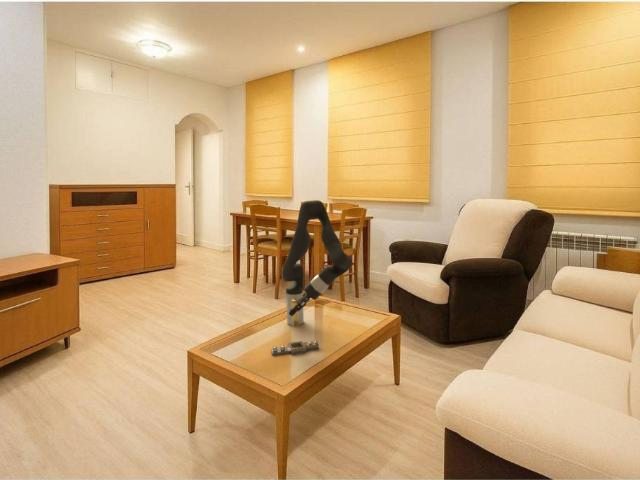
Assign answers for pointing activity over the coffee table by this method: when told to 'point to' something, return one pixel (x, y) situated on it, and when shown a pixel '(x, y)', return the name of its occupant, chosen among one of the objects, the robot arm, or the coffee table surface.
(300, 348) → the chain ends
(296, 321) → the pin
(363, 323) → the coffee table surface
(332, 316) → the coffee table surface
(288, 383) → the coffee table surface
